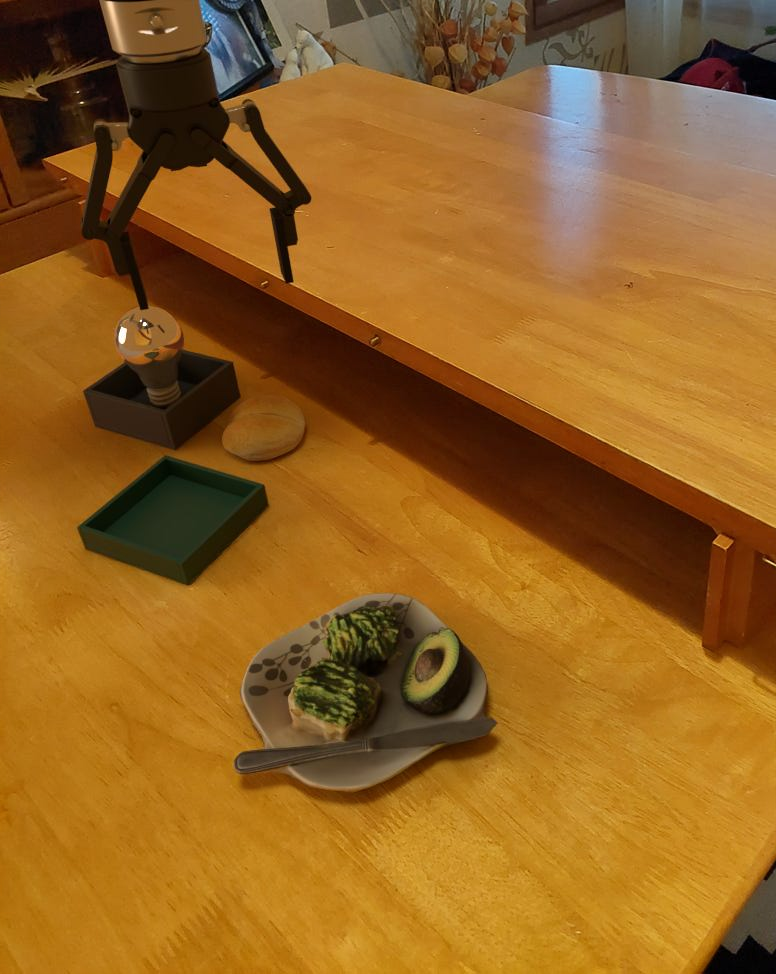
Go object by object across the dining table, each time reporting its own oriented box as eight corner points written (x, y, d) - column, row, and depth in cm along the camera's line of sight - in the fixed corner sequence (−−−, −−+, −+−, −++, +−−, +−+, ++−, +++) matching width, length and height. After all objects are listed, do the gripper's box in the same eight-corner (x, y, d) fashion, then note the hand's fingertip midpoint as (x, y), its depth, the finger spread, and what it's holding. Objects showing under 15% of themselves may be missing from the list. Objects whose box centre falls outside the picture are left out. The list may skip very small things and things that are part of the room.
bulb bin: (94, 426, 101) (82, 390, 98) (163, 376, 109) (153, 342, 106) (175, 450, 97) (165, 413, 94) (241, 396, 105) (233, 361, 102)
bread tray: (84, 548, 85) (76, 527, 83) (171, 475, 93) (165, 454, 92) (188, 585, 81) (181, 563, 79) (269, 505, 89) (264, 484, 88)
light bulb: (196, 384, 106) (172, 288, 98) (203, 416, 101) (178, 317, 93) (133, 397, 104) (103, 300, 97) (137, 430, 99) (106, 330, 91)
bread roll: (217, 465, 95) (209, 433, 92) (238, 416, 102) (231, 384, 99) (297, 464, 94) (291, 432, 92) (313, 415, 101) (307, 384, 99)
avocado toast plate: (289, 871, 60) (278, 831, 57) (187, 693, 71) (173, 653, 68) (528, 725, 68) (528, 684, 65) (402, 588, 80) (397, 548, 77)
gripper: (-5, 81, 70) (81, 333, 83) (321, 42, 76) (353, 282, 89) (0, 59, 75) (79, 298, 88) (303, 24, 81) (335, 252, 94)
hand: (216, 290), depth 89 cm, fingers open, 13 cm apart
